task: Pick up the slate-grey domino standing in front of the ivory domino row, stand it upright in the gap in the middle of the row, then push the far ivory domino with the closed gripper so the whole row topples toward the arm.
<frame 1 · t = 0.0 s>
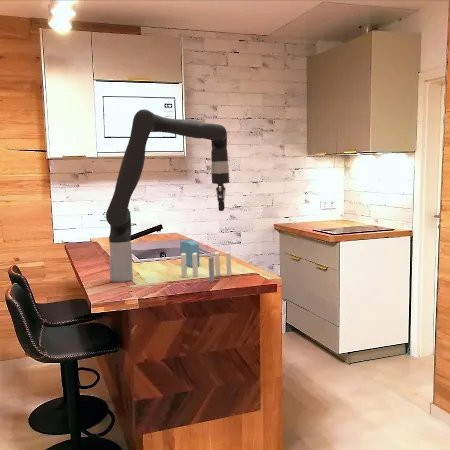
hand: (221, 210, 218), 29 cm above the countertop, fingers open, 8 cm apart
domino 4: (195, 275, 225), on the countertop
domino 2: (217, 275, 225), on the countertop
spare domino: (212, 280, 214), on the countertop
data package: (190, 265, 251), on the countertop
domino 1: (229, 274, 225), on the countertop
domino 5: (184, 276, 225), on the countertop
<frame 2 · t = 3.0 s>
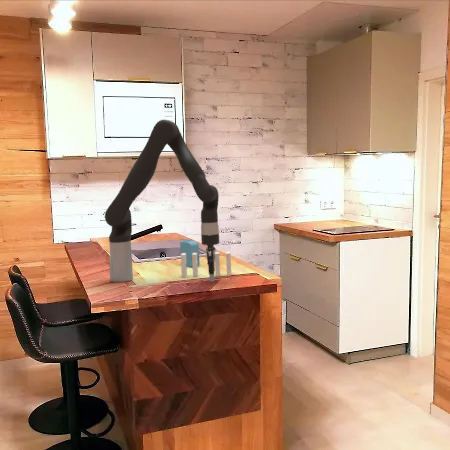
hand: (211, 272, 214), 3 cm above the countertop, fingers closed on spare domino, 5 cm apart
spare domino: (212, 280, 214), on the countertop, touching gripper
everything else where it was.
when the fingers open (4 cm above the countertop, at t = 9.0 s): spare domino stays where it is, on the countertop.
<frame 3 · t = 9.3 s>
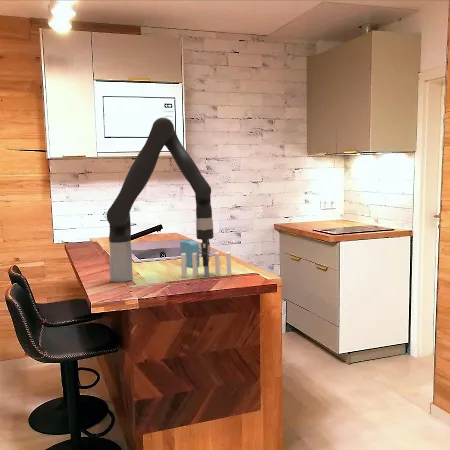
hand: (206, 264, 225), 5 cm above the countertop, fingers open, 7 cm apart
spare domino: (206, 275, 225), on the countertop
everything else where it was.
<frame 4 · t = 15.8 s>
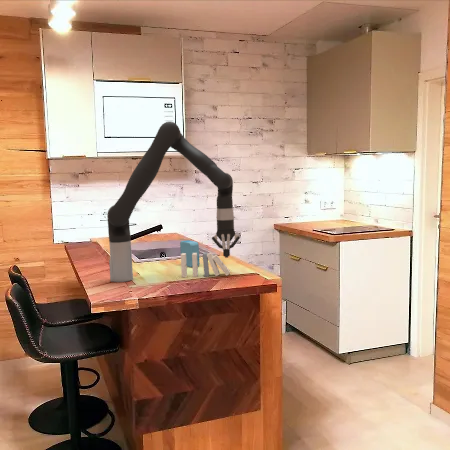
hand: (226, 257, 224), 8 cm above the countertop, fingers closed
domino 2: (217, 274, 225), on the countertop, tilted 21°
domino 1: (228, 273, 225), point 1 cm above the countertop, tilted 37°
everything else where it was.
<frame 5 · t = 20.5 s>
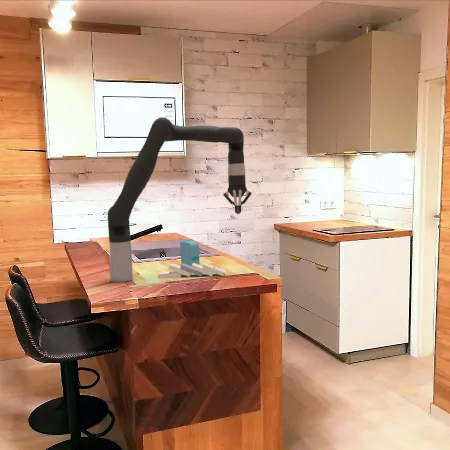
hand: (238, 213, 222), 27 cm above the countertop, fingers closed
domino 4: (191, 273, 225), point 1 cm above the countertop, tilted 67°, touching domino 5, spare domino
domino 2: (213, 273, 225), point 1 cm above the countertop, tilted 67°, touching domino 1, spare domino
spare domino: (202, 273, 225), point 1 cm above the countertop, tilted 67°, touching domino 2, domino 4
domino 1: (224, 273, 225), point 1 cm above the countertop, tilted 68°, touching domino 2
domino 5: (181, 274, 225), point 1 cm above the countertop, tilted 89°, touching domino 4
everything else where it was.
at the end: domino 5 tilted 89°; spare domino tilted 67°; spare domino inside the target area (1.5 cm from its centre), point 0.8 cm above the countertop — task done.
